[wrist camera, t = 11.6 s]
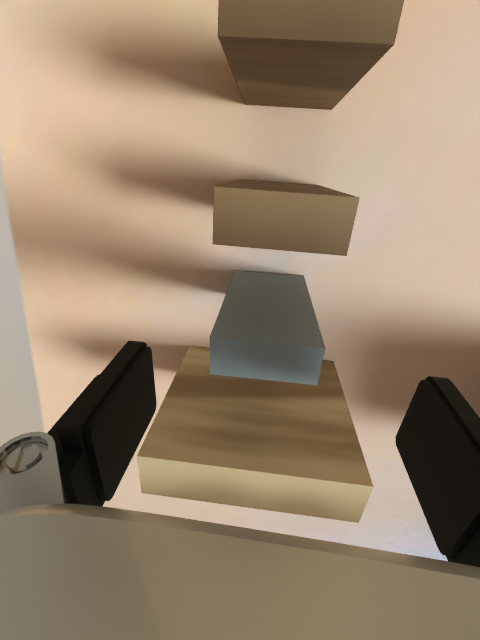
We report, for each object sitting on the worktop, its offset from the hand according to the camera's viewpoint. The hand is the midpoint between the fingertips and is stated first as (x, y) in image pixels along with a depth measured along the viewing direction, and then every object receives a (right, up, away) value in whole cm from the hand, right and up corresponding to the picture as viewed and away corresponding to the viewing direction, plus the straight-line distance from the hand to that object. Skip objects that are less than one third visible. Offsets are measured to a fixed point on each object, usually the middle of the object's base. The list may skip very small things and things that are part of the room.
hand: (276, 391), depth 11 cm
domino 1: (+2, +16, +6) cm, 17 cm away
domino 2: (+1, +10, +9) cm, 14 cm away
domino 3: (+1, +5, +12) cm, 13 cm away
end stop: (0, -2, +15) cm, 15 cm away
